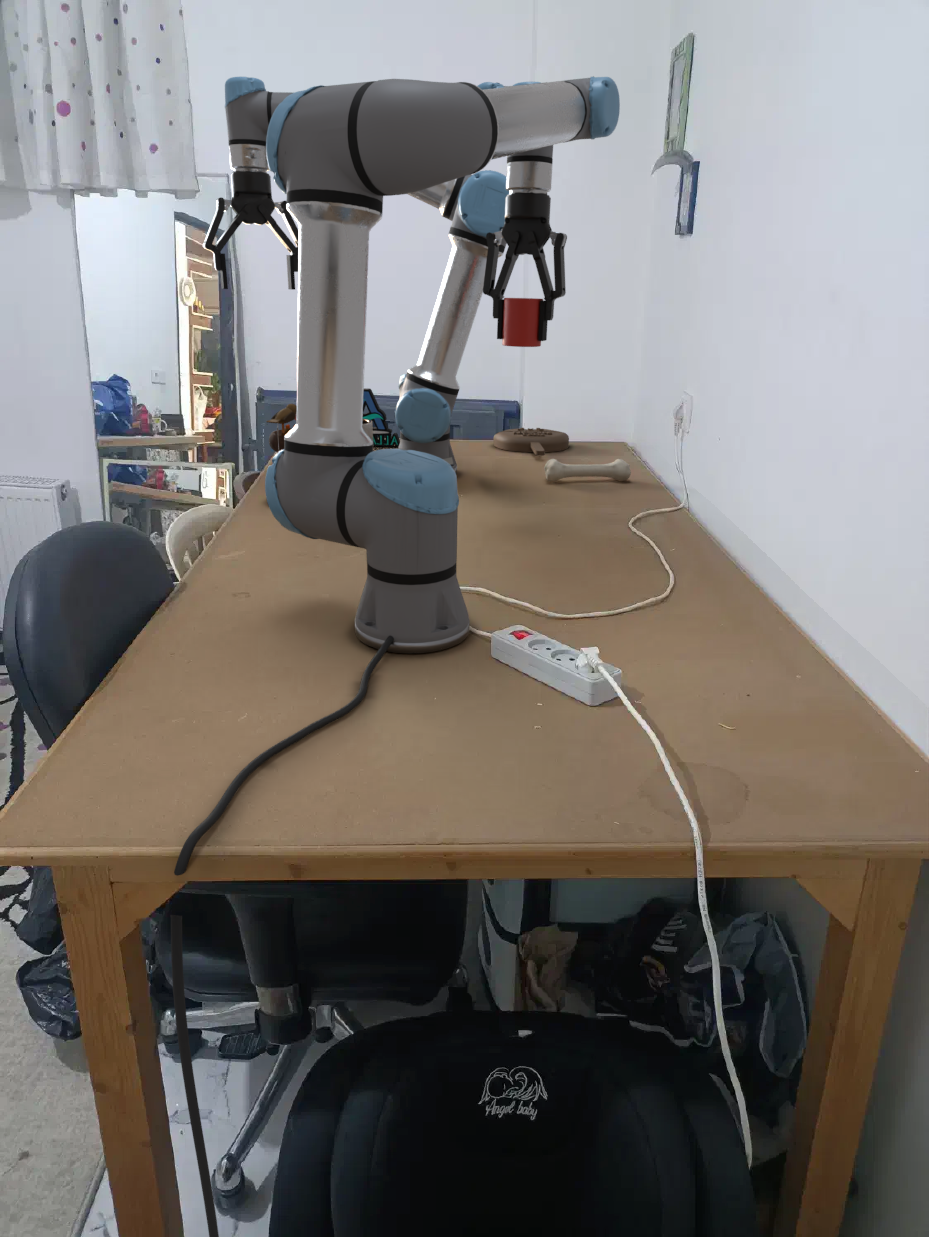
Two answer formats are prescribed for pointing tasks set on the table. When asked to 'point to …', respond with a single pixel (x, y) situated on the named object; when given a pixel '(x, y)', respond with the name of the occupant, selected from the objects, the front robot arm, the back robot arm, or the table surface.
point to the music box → (281, 418)
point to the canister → (521, 322)
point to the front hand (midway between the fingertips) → (521, 339)
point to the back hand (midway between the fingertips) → (258, 289)
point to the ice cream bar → (531, 440)
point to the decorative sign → (378, 421)
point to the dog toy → (587, 470)
